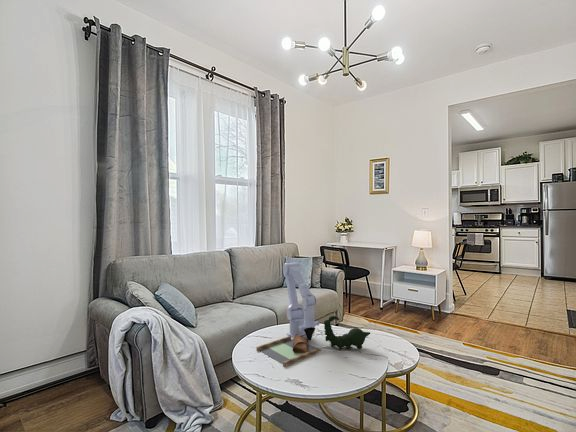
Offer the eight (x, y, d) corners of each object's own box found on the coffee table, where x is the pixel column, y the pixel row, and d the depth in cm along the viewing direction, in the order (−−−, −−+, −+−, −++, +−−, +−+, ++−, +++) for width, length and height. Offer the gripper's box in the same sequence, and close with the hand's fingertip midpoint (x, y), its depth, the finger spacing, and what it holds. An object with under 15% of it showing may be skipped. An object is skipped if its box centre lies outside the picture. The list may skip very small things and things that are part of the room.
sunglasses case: (308, 352, 172) (302, 341, 172) (297, 359, 172) (290, 348, 172) (308, 339, 190) (302, 329, 190) (298, 345, 190) (292, 335, 190)
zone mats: (295, 338, 193) (295, 338, 193) (321, 350, 176) (321, 350, 176) (259, 350, 176) (259, 350, 176) (284, 365, 159) (284, 365, 159)
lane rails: (289, 339, 192) (289, 335, 192) (318, 352, 173) (318, 348, 173) (256, 350, 176) (256, 346, 176) (284, 366, 158) (284, 362, 158)
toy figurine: (326, 354, 175) (373, 351, 173) (323, 319, 175) (370, 316, 173) (326, 346, 185) (370, 344, 182) (323, 313, 185) (367, 311, 182)
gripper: (304, 321, 177) (304, 345, 177) (322, 315, 187) (323, 338, 187) (296, 318, 183) (296, 341, 183) (314, 312, 192) (314, 335, 192)
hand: (309, 340), depth 185 cm, fingers closed
